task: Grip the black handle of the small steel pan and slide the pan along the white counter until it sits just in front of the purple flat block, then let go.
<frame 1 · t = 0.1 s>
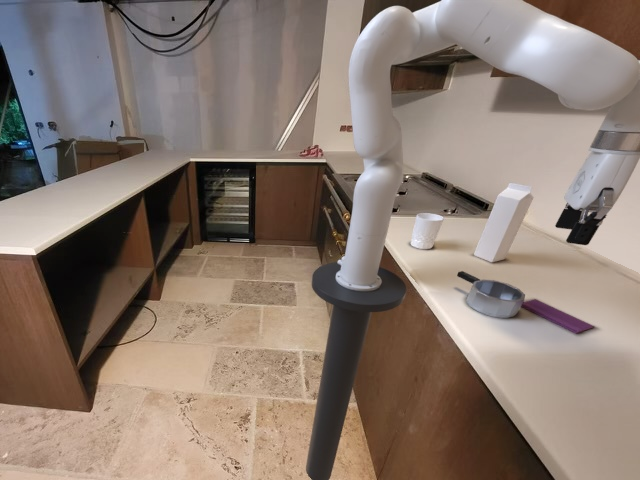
hand: (569, 235, 65), 19 cm above the worktop, tool pointing down, fingers open, 9 cm apart
white cup: (421, 246, 109), on the worktop
purple flat block: (553, 315, 73), on the worktop
milk: (488, 257, 101), on the worktop
pan: (490, 305, 77), on the worktop
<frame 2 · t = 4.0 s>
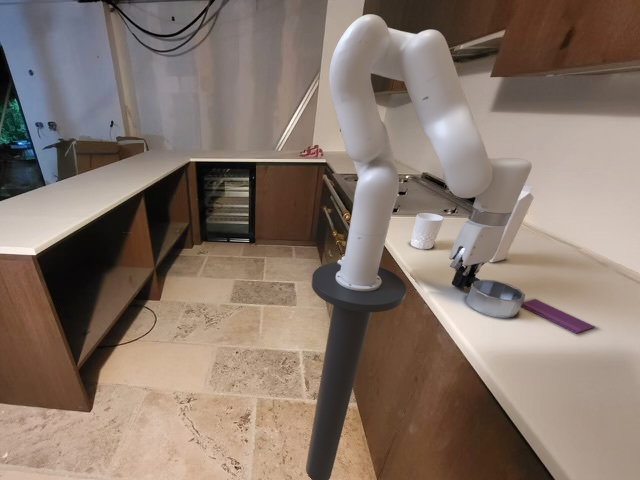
hand: (460, 285, 83), 1 cm above the worktop, tool pointing down, fingers closed on pan
pan: (490, 305, 77), on the worktop, touching gripper
everything else where it was.
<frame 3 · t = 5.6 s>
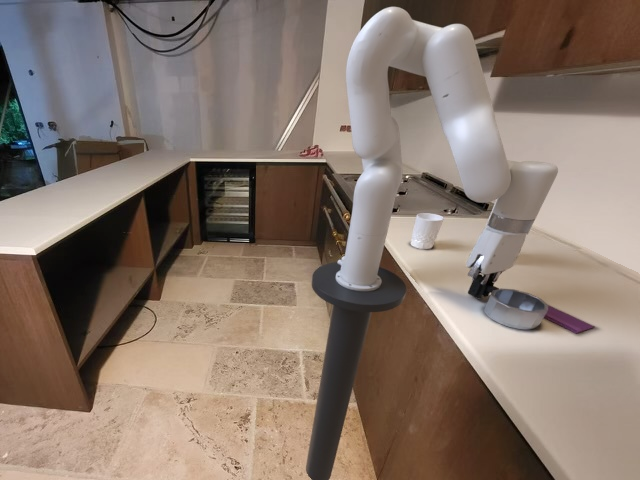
hand: (477, 294, 80), 1 cm above the worktop, tool pointing down, fingers closed on pan
pan: (510, 316, 73), on the worktop, touching gripper
everything else where it was.
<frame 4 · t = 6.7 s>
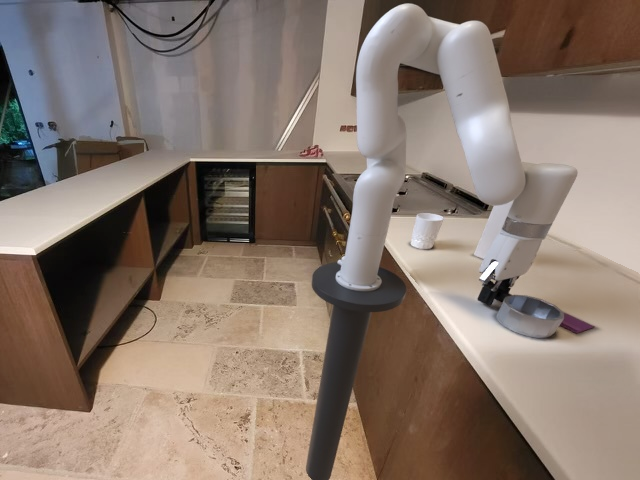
hand: (490, 300, 77), 1 cm above the worktop, tool pointing down, fingers open, 3 cm apart
pan: (523, 323, 71), on the worktop
everything else where it was.
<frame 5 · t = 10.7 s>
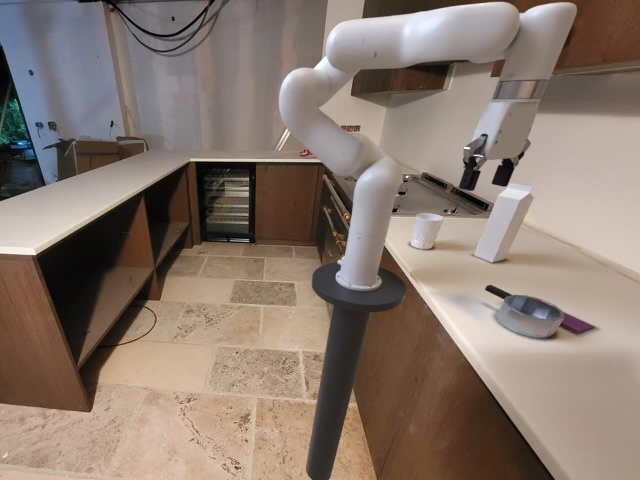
hand: (482, 187, 69), 26 cm above the worktop, tool pointing down, fingers open, 9 cm apart
nothing on the worktop moved.
at the end: pan inside the target area (0.6 cm from its centre), on the worktop; pan moved 7.7 cm from its start; the gripper is holding nothing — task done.
